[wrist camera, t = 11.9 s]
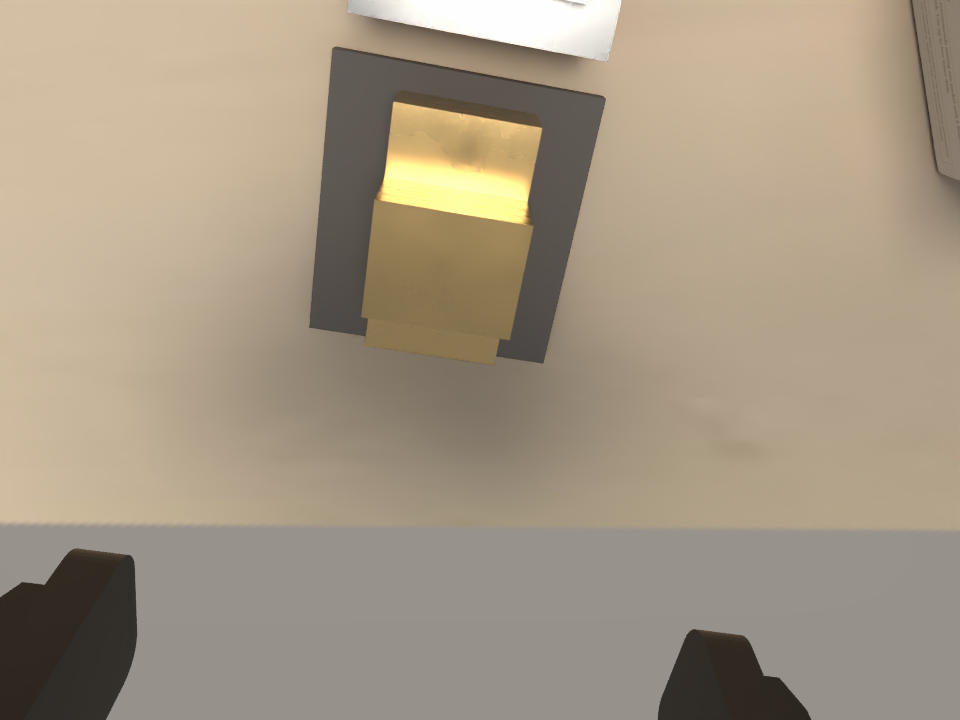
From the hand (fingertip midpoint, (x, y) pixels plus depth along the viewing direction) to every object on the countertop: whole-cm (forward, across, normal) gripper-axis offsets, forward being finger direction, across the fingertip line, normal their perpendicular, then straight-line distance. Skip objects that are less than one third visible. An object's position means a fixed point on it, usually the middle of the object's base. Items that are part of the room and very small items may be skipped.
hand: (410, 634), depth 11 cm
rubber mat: (+22, 0, 0) cm, 22 cm away
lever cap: (+21, 0, 0) cm, 21 cm away
